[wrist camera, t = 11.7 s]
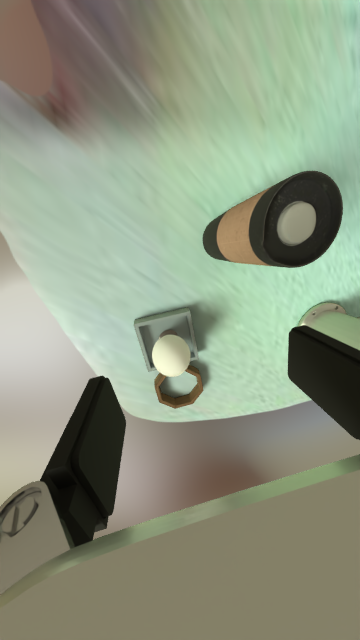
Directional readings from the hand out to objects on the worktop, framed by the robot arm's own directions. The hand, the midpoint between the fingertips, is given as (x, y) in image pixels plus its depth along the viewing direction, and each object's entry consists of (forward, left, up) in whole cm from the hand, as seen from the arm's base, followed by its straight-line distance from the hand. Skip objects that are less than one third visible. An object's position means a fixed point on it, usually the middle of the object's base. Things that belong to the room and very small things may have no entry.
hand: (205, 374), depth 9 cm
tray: (+2, +11, -28) cm, 30 cm away
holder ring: (+2, +23, -28) cm, 37 cm away
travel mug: (-12, -6, -28) cm, 32 cm away
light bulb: (+2, +11, -28) cm, 30 cm away
